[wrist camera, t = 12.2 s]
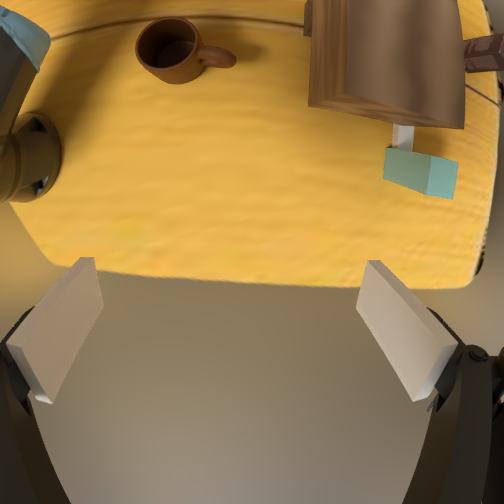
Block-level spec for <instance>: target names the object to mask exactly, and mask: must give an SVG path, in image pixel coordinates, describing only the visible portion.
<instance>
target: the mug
mask: <svg viewBox="0 0 504 504" xmlns="http://www.w3.org/2000/svg"><path fill="white" fill-rule="evenodd" d="M135 51H136V56H137V59H138V61H139V62H140V63H141V64H142V65H143V67H144V68H145V69H146V70H148V71H149V72H150V73H152V74H153V75H155V76H156V77H158V78H159V79H161V80H162V81H164V82H166V83H169V84H183V83H187V82H189V81H191V80H193V79H194V78H196V77H197V76H198V75H199V74H200V73H201V71H202V70H203V68H204V66H205V65H206V66H212V67H217V68H230V67H233V66H234V65H235V63H236V57H235V55H234V54H233V53H231V52H230V51H227V50H224V49H221V48H217V47H209V46H203V43H202V40H201V37H200V34H199V33H198V31H197V30H196V28H195V26H194V25H193V24H192V23H191V22H189V21H188V20H186V19H184V18H180V17H165V18H161V19H158V20H156V21H154V22H152V23H151V24H149V25H148V26H147V27H146V28H145V29H144V30H143V31H142V32H141V34H140V35H139V37H138V39H137V42H136V47H135Z"/></svg>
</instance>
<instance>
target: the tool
mask: <svg viewBox="0 0 504 504" xmlns="http://www.w3.org/2000/svg"><path fill="white" fill-rule="evenodd" d="M414 127H415V126H402V125H398V124H394V123H393V136H392V148H386V154H385V164H384V173H383V179H386V180H389V181H392V182H394V183H397V184H400V185H402V186H405V187H408V188H410V189H413V190H415V191H418V192H420V193H423V194H425V195H430V196H436V197H442V198H447V199H453V196H454V190H455V184H456V177H457V169H458V162H455V161H451V160H447V159H444V158H440V157H436V156H432V155H428V154H422V153H417V152H412V151H413V140H414Z"/></svg>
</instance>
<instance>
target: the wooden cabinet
mask: <svg viewBox="0 0 504 504" xmlns="http://www.w3.org/2000/svg"><path fill="white" fill-rule="evenodd" d="M304 36H308V37H312V43H311V64H310V82H309V98H308V107H315V108H321V109H328V110H334V111H339V112H345V113H350V114H355V115H360V116H364V117H369V118H373V119H378V120H382V121H386V122H390V123H394V124H398V125H402V126H423V127H441V128H453V129H464V120H465V64H464V49H463V38H462V30H461V22H460V15H459V9H458V4H457V0H307V2H306V3H305V14H304Z"/></svg>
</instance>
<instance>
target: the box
mask: <svg viewBox="0 0 504 504" xmlns="http://www.w3.org/2000/svg"><path fill="white" fill-rule="evenodd" d="M463 49H464V64H465V70H466V72H467V73H475V72H487V71H503V70H504V33H503V34H496V35H490V36H484V37H479V38H474V39H469V40H464V41H463Z"/></svg>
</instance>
